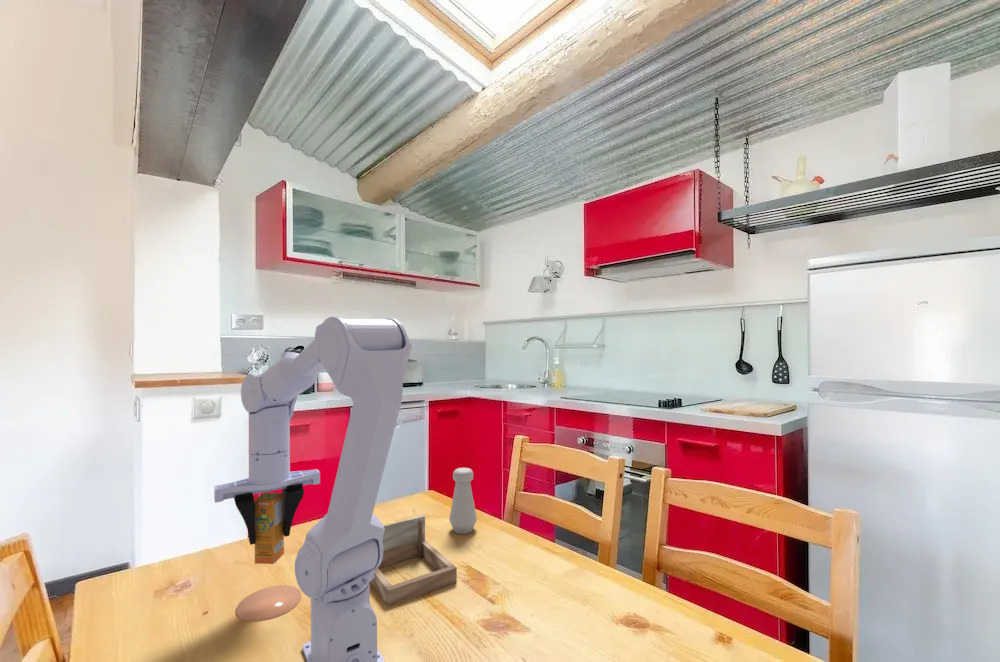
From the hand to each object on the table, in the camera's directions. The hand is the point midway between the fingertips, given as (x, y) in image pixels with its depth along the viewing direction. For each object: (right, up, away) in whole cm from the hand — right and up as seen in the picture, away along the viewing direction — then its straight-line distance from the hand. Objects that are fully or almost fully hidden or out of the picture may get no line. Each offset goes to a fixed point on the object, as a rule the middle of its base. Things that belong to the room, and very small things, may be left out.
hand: (269, 537), depth 70 cm
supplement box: (0, -4, 0) cm, 4 cm away
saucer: (0, -10, 0) cm, 10 cm away
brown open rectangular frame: (+20, -10, +8) cm, 24 cm away
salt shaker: (+28, -11, +26) cm, 40 cm away
